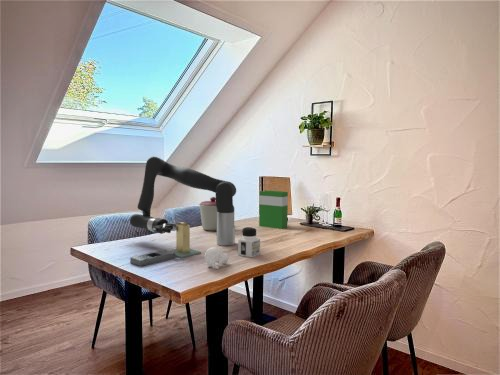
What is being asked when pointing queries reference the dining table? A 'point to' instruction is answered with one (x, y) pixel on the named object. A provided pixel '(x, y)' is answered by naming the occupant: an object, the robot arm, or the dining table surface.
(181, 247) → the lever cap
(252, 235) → the container
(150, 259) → the plane body
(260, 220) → the green cereal box
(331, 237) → the dining table surface
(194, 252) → the mat
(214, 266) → the white humped figurine
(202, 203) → the canister
